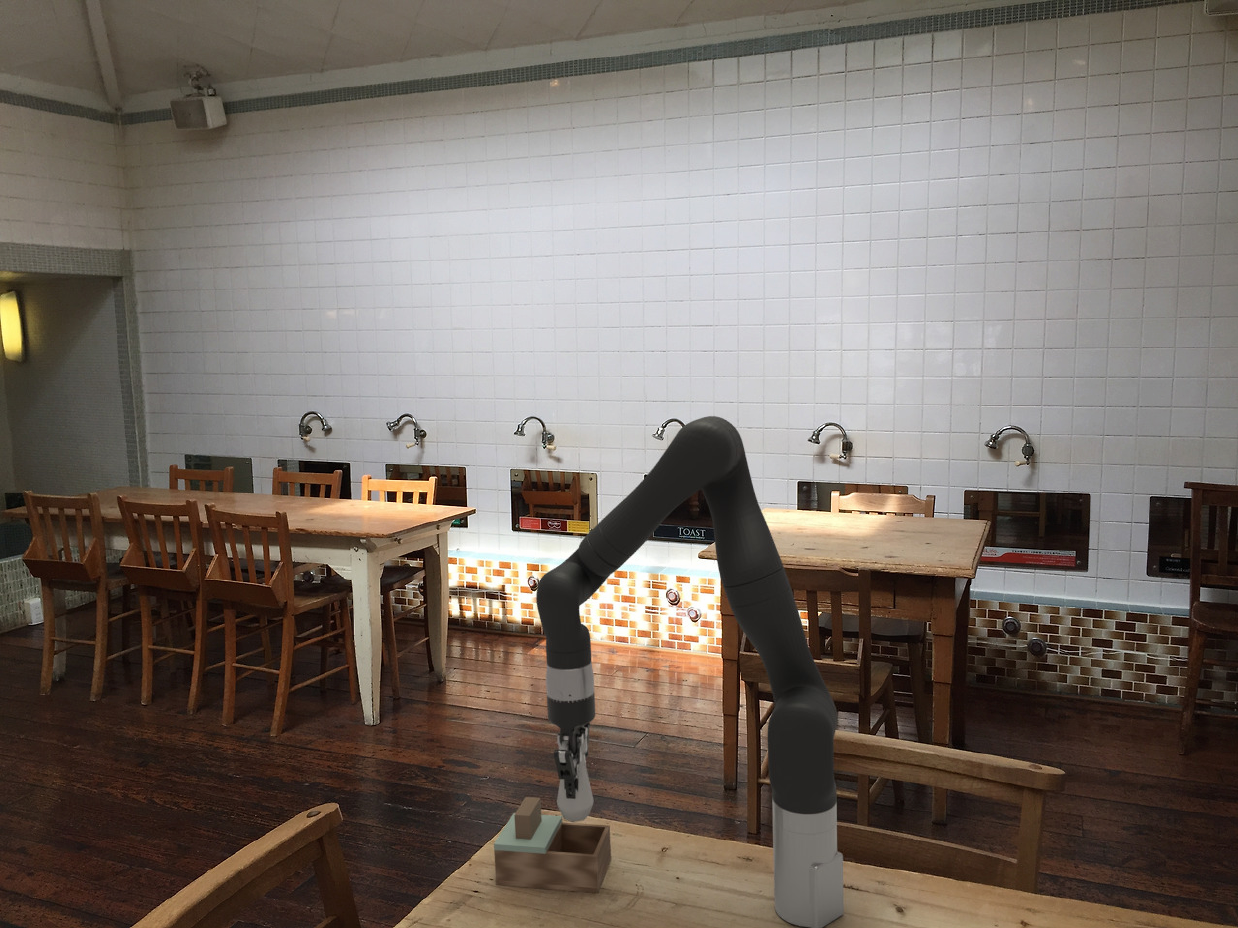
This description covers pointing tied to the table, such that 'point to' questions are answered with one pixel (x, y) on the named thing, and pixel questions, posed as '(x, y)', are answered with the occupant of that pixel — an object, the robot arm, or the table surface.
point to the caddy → (560, 861)
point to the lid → (528, 829)
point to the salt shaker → (577, 795)
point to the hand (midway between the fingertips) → (575, 793)
